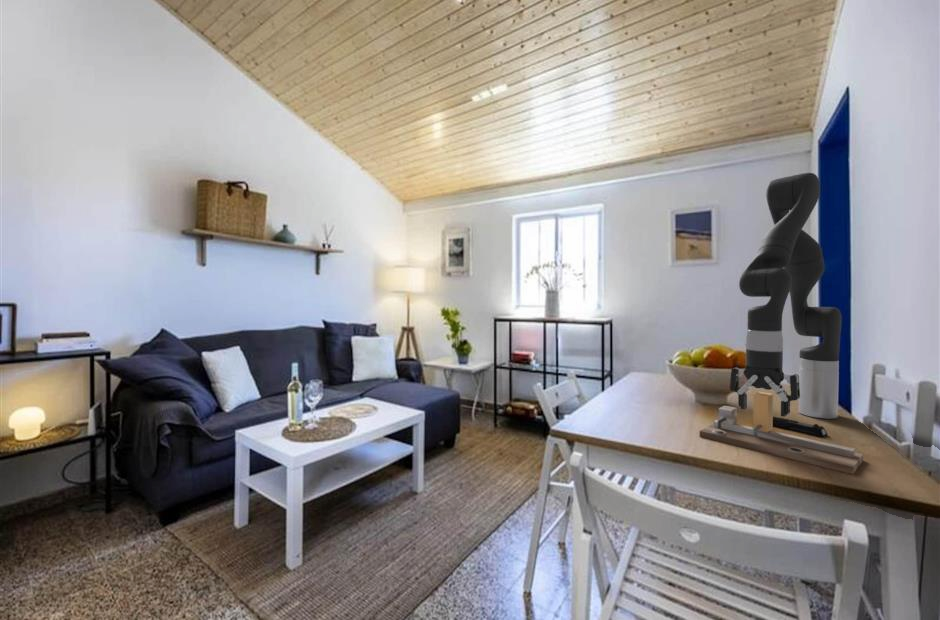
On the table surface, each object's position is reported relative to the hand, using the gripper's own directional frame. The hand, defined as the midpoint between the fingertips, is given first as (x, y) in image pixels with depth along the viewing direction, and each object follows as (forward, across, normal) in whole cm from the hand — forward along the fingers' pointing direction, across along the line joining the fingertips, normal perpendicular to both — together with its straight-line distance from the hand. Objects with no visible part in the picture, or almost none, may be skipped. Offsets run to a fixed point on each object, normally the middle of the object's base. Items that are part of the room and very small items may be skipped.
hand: (763, 412), depth 103 cm
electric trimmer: (+8, -2, -18) cm, 20 cm away
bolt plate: (+8, -3, +2) cm, 9 cm away
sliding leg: (+5, 0, +2) cm, 5 cm away
